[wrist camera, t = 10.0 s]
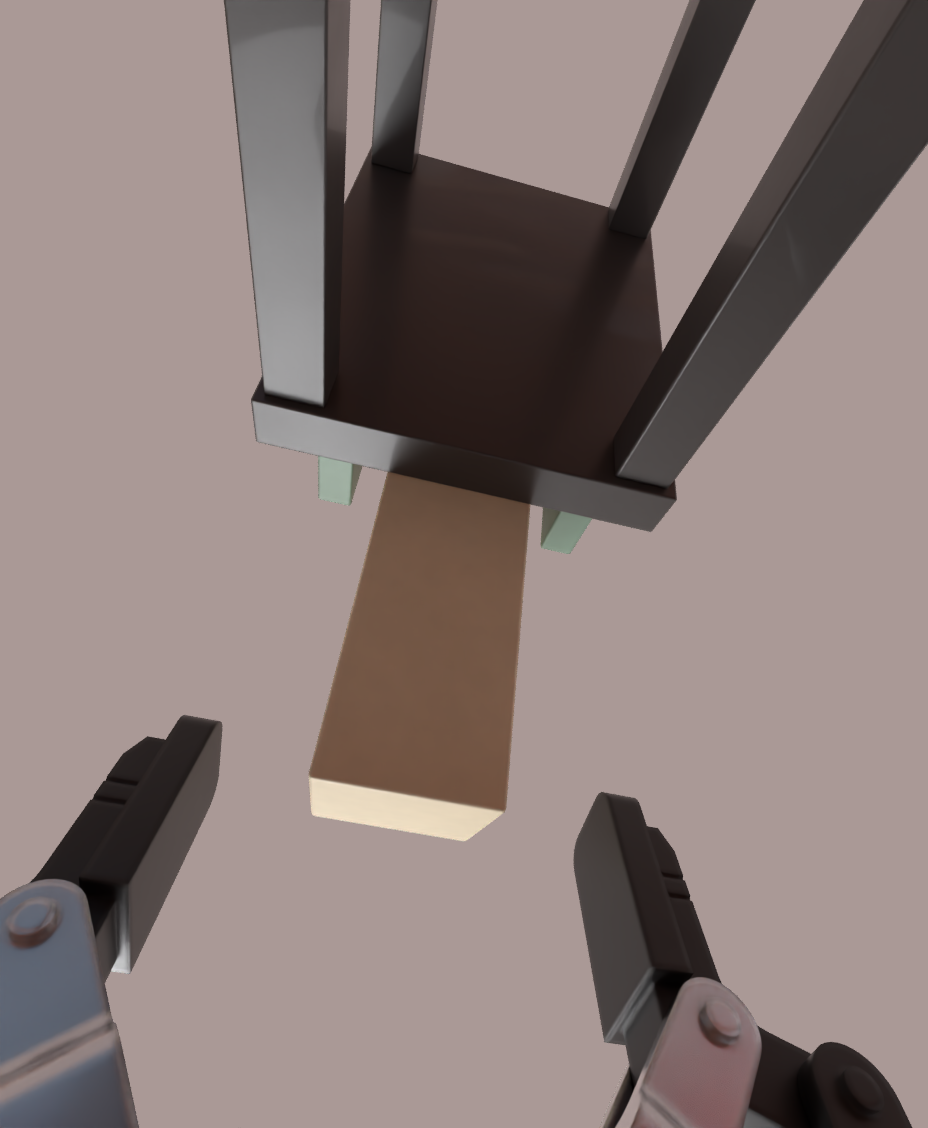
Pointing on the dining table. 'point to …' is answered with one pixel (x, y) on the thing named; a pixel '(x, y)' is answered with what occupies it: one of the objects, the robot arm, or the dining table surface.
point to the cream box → (427, 666)
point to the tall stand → (532, 265)
